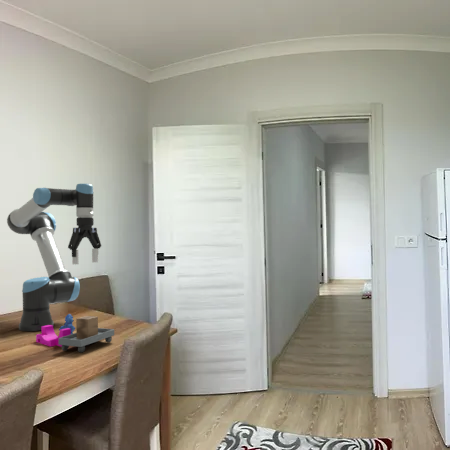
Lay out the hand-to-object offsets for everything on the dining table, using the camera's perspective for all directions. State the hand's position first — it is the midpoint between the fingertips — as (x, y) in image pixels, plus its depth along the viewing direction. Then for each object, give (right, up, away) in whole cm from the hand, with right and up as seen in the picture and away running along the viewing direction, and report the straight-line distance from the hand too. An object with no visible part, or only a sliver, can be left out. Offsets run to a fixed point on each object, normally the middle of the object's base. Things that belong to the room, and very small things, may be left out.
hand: (85, 263), depth 212 cm
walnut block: (+8, -28, -24) cm, 38 cm away
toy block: (-7, -33, -21) cm, 39 cm away
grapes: (-3, -33, -16) cm, 37 cm away
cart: (+8, -32, -24) cm, 41 cm away
